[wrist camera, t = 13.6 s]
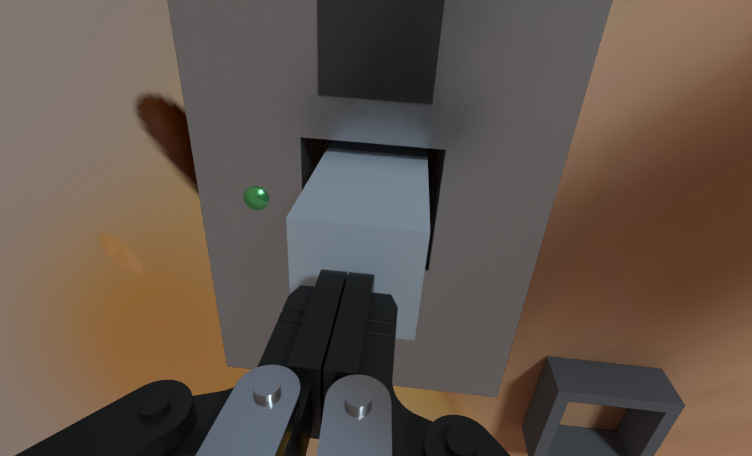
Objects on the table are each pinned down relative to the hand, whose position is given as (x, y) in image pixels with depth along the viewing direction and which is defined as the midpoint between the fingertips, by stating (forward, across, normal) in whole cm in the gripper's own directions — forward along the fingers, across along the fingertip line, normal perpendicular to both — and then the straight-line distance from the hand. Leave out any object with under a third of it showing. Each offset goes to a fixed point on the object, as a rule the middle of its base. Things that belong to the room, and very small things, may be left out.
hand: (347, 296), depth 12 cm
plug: (+10, 0, 0) cm, 10 cm away
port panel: (+10, 0, 0) cm, 10 cm away
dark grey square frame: (+10, -14, +14) cm, 22 cm away
